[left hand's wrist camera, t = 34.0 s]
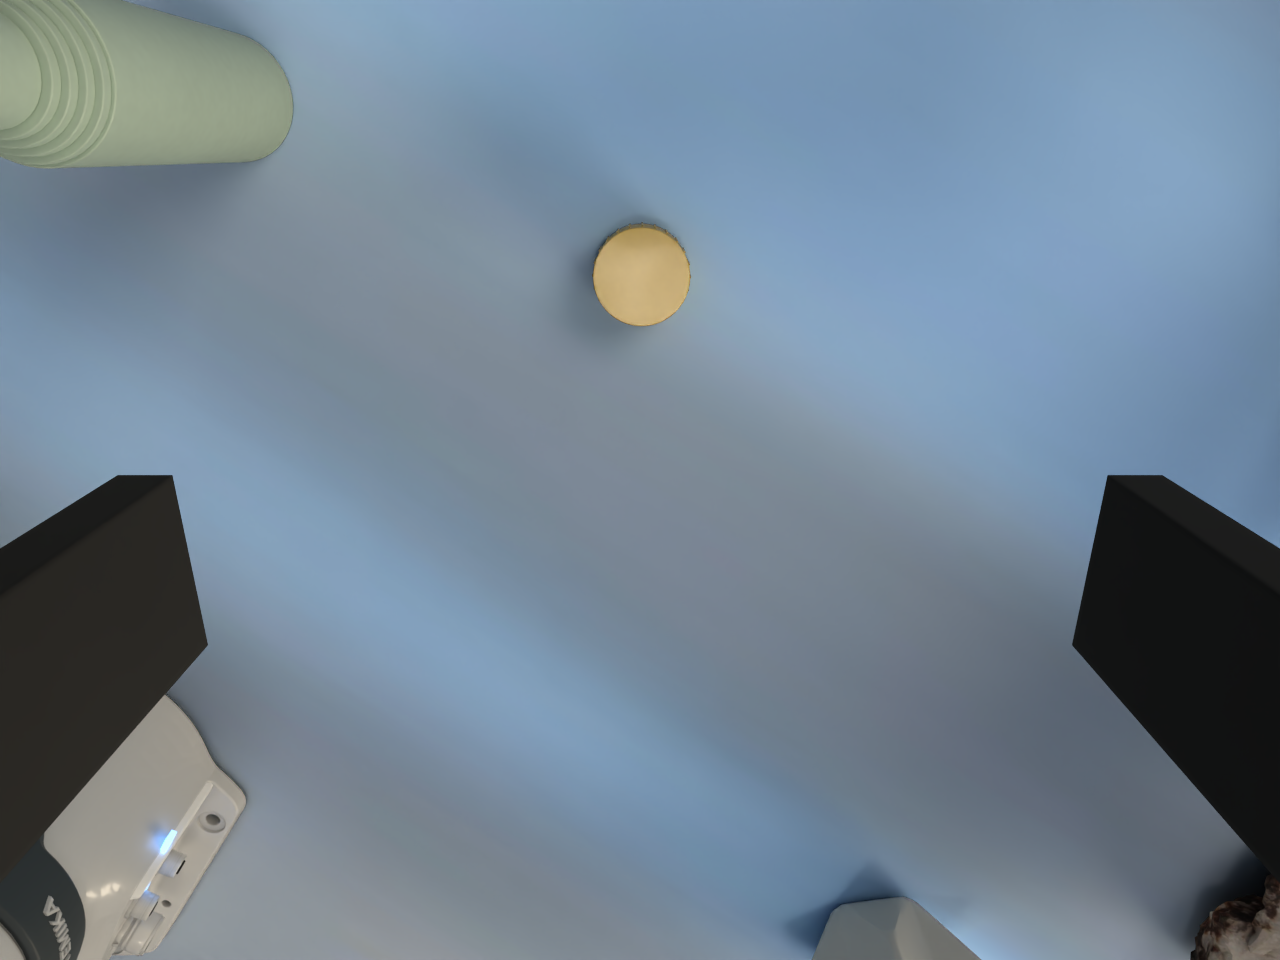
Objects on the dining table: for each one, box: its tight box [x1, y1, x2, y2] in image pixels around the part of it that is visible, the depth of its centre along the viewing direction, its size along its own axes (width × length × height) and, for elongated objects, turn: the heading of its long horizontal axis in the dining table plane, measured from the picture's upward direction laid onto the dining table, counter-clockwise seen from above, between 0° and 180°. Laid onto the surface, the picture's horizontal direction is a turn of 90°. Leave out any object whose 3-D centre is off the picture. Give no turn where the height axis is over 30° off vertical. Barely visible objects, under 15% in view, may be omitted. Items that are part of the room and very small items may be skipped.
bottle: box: [0, 0, 293, 168], centre depth 30 cm, size 5×5×19 cm
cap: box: [592, 222, 691, 326], centre depth 41 cm, size 5×5×2 cm
